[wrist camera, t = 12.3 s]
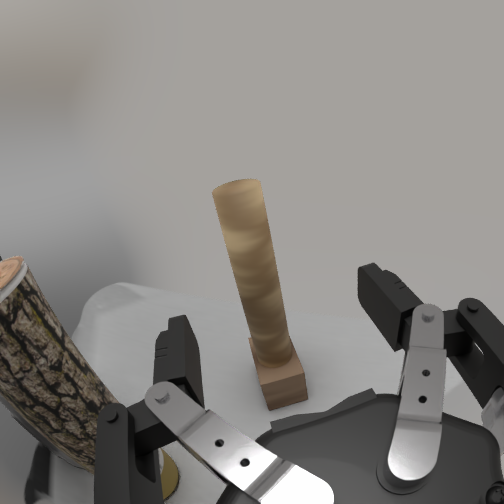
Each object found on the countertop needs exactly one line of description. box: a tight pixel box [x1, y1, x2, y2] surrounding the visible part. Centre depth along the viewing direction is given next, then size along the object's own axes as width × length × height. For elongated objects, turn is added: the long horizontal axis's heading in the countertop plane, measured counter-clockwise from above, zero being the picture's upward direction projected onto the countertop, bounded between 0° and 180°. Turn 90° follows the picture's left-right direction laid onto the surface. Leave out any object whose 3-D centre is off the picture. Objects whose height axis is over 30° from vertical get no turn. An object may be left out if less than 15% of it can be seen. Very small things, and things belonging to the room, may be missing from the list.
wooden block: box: [248, 336, 308, 410], centre depth 33 cm, size 7×4×5 cm, turn 10°
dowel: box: [212, 179, 292, 368], centre depth 27 cm, size 4×4×18 cm
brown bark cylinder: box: [0, 256, 178, 499], centre depth 18 cm, size 7×7×25 cm
